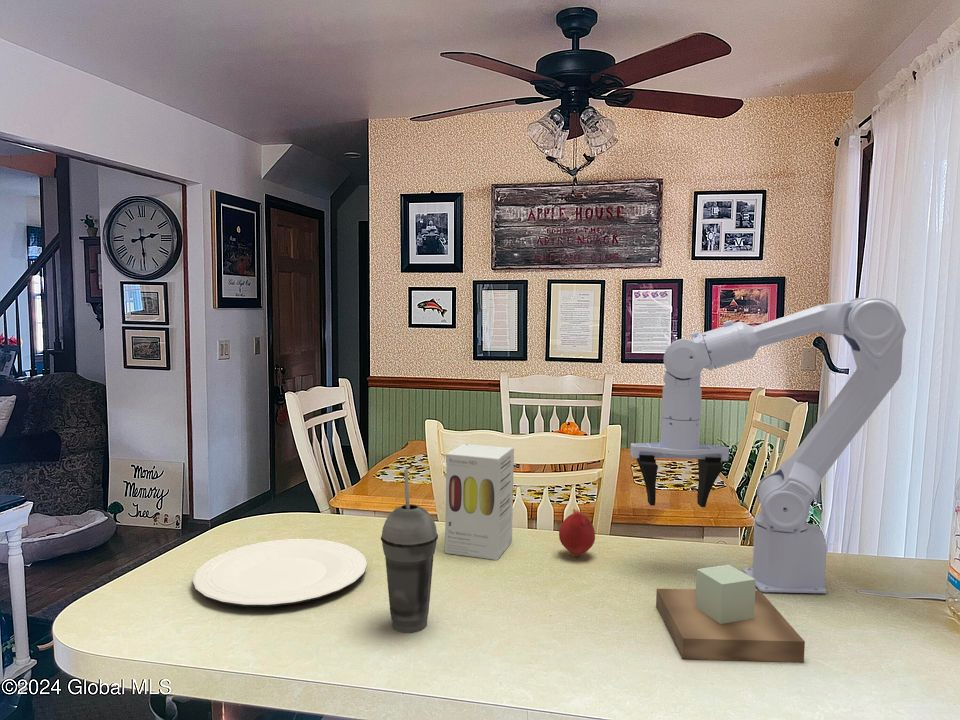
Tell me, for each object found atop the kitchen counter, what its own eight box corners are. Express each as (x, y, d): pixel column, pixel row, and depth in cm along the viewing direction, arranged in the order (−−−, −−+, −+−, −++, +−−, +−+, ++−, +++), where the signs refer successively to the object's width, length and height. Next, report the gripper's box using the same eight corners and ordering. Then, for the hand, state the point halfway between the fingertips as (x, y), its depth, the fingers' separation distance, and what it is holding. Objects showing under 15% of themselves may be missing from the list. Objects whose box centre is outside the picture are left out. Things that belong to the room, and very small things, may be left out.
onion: (593, 550, 115) (594, 504, 115) (595, 563, 110) (596, 514, 109) (558, 549, 116) (559, 502, 115) (558, 562, 110) (559, 513, 110)
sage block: (727, 601, 90) (728, 564, 90) (754, 618, 86) (755, 579, 85) (695, 606, 89) (696, 569, 88) (720, 624, 84) (722, 584, 84)
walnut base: (759, 608, 94) (760, 590, 94) (803, 662, 80) (804, 641, 80) (656, 606, 95) (656, 588, 94) (682, 658, 81) (683, 638, 80)
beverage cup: (392, 643, 84) (392, 481, 82) (373, 618, 90) (372, 468, 89) (447, 630, 87) (447, 475, 86) (424, 607, 94) (424, 462, 92)
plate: (152, 597, 97) (152, 584, 96) (270, 540, 120) (269, 530, 120) (300, 631, 87) (300, 617, 87) (396, 562, 110) (396, 551, 110)
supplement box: (443, 554, 113) (443, 453, 112) (461, 535, 122) (462, 442, 121) (499, 561, 111) (500, 457, 109) (513, 542, 119) (515, 446, 118)
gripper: (720, 414, 109) (715, 498, 110) (628, 411, 110) (624, 495, 111) (735, 422, 102) (730, 512, 103) (636, 419, 103) (632, 508, 104)
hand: (676, 504), depth 107 cm, fingers open, 7 cm apart
